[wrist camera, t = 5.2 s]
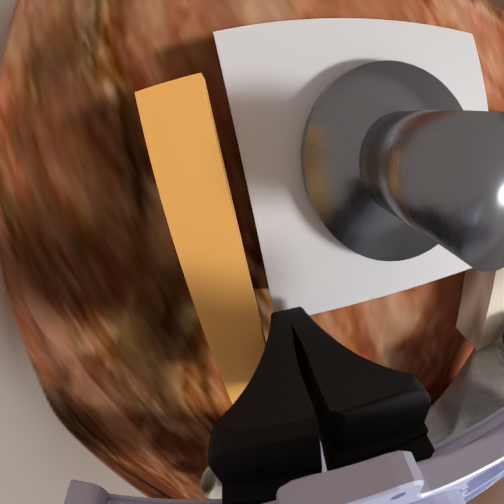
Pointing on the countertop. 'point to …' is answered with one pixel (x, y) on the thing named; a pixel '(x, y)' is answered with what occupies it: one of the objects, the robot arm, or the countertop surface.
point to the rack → (482, 307)
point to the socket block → (290, 140)
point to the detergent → (469, 394)
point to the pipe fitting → (210, 485)
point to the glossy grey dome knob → (405, 167)
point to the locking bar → (203, 223)
